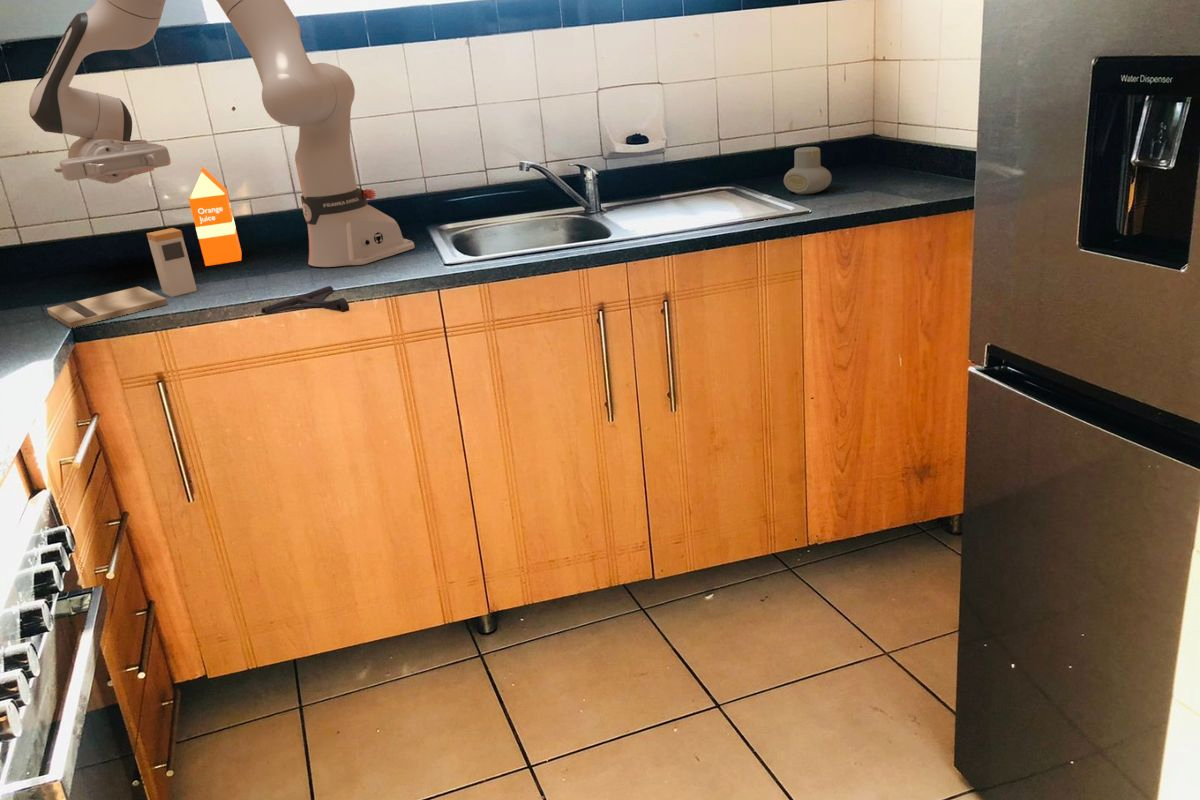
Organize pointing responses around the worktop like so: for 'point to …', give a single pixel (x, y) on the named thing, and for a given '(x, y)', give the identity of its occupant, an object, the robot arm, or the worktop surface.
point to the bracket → (309, 302)
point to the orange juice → (214, 221)
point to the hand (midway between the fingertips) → (126, 165)
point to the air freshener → (807, 172)
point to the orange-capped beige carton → (171, 262)
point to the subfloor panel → (106, 306)
